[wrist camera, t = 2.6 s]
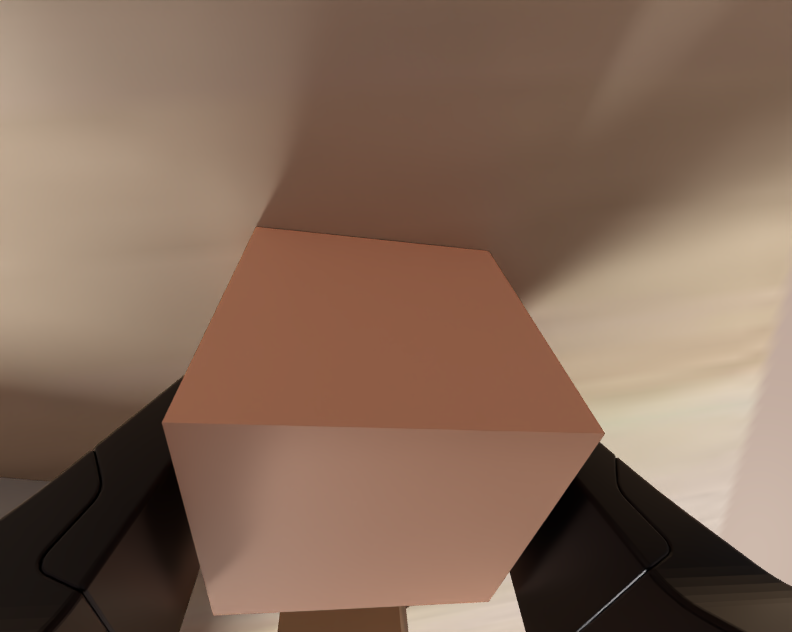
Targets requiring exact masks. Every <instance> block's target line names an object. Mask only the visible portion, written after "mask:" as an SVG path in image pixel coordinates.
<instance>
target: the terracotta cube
mask: <svg viewBox="0 0 792 632" xmlns="http://www.w3.org/2000/svg"><path fill="white" fill-rule="evenodd" d="M162 425H163V429H164V432H165V436H166V440H167V444H168V447H169V451H170V455H171V459H172V462H173V466H174V470H175V474H176V477H177V481H178V485H179V489H180V493H181V496H182V500H183V504H184V508H185V511H186V515H187V519H188V523H189V526H190V530H191V534H192V538H193V541H194V545H195V549H196V553H197V556H198V560H199V564H200V568H201V571H202V575H203V579H204V583H205V587H206V590H207V594H208V598H209V602H210V605H211V609H212V613H213V616H216V615H236V614H256V613H275V612H295V611H315V610H335V609H355V608H375V607H395V606H415V605H435V604H454V603H474V602H489V600H490V599H491V597H492V596H493V595H494V593H495V592H496V590H497V589H498V587H499V586H500V585H501V583H502V582H503V580H504V579H505V577H506V576H507V574H508V573H509V572H510V570H511V569H512V567H513V566H514V564H515V563H516V561H517V560H518V559H519V557H520V556H521V554H522V553H523V551H524V550H525V548H526V547H527V546H528V544H529V543H530V541H531V540H532V538H533V537H534V535H535V534H536V533H537V531H538V530H539V528H540V527H541V525H542V524H543V522H544V521H545V520H546V518H547V517H548V515H549V514H550V512H551V511H552V509H553V508H554V507H555V505H556V504H557V502H558V501H559V499H560V498H561V496H562V495H563V494H564V492H565V491H566V489H567V488H568V486H569V485H570V483H571V482H572V481H573V479H574V478H575V476H576V475H577V473H578V472H579V470H580V469H581V468H582V466H583V465H584V463H585V462H586V460H587V459H588V457H589V456H590V455H591V453H592V452H593V450H594V449H595V447H596V446H597V444H598V443H599V442H600V440H601V439H602V437H603V436H604V434H605V433H604V431H603V430H602V428H601V427H600V425H599V423H598V422H597V420H596V419H595V417H594V416H593V414H592V412H591V411H590V409H589V408H588V406H587V405H586V403H585V401H584V400H583V398H582V397H581V395H580V394H579V392H578V390H577V389H576V387H575V386H574V384H573V383H572V381H571V379H570V378H569V376H568V375H567V373H566V372H565V370H564V368H563V367H562V365H561V364H560V362H559V361H558V359H557V357H556V356H555V354H554V353H553V351H552V350H551V348H550V346H549V345H548V343H547V342H546V340H545V339H544V337H543V335H542V334H541V332H540V331H539V329H538V328H537V326H536V324H535V323H534V321H533V320H532V318H531V317H530V315H529V313H528V312H527V310H526V309H525V307H524V306H523V304H522V302H521V301H520V299H519V298H518V296H517V295H516V293H515V291H514V290H513V288H512V287H511V285H510V284H509V282H508V280H507V279H506V277H505V276H504V274H503V273H502V271H501V269H500V268H499V266H498V265H497V263H496V262H495V260H494V258H493V257H492V255H491V254H490V252H489V251H484V250H474V249H464V248H455V247H445V246H436V245H426V244H416V243H407V242H397V241H388V240H378V239H368V238H359V237H349V236H340V235H330V234H321V233H311V232H301V231H292V230H282V229H273V228H263V227H256V228H255V230H254V232H253V234H252V236H251V238H250V240H249V242H248V244H247V246H246V249H245V251H244V253H243V255H242V257H241V259H240V261H239V263H238V265H237V267H236V269H235V271H234V274H233V276H232V278H231V280H230V282H229V284H228V286H227V288H226V290H225V292H224V294H223V296H222V298H221V301H220V303H219V305H218V307H217V309H216V311H215V313H214V315H213V317H212V319H211V321H210V323H209V326H208V328H207V330H206V332H205V334H204V336H203V338H202V340H201V342H200V344H199V346H198V348H197V350H196V353H195V355H194V357H193V359H192V361H191V363H190V365H189V367H188V369H187V371H186V373H185V375H184V378H183V380H182V382H181V384H180V386H179V388H178V390H177V392H176V394H175V396H174V398H173V400H172V402H171V405H170V407H169V409H168V411H167V413H166V415H165V417H164V419H163V421H162Z"/></svg>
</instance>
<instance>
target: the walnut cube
mask: <svg viewBox="0 0 792 632" xmlns="http://www.w3.org/2000/svg"><path fill="white" fill-rule="evenodd" d="M278 632H408V624H407V614H406V607H405V606H395V607H375V608H355V609H335V610H315V611H295V612H280V616H279V625H278Z"/></svg>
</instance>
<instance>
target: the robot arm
mask: <svg viewBox="0 0 792 632" xmlns="http://www.w3.org/2000/svg"><path fill="white" fill-rule="evenodd" d="M183 378H184V376H182V377H181V378H180V379H179V380H177V381H176V382H175V383H174V384H172V385H171V386H170V387H169V388H167V389H166V390H165V391H164V392H163V393H161V394H160V395H159V396H158V397H156V398H155V399H154V400H153V401H151V402H150V403H149V404H148V405H146V406H145V407H144V408H143V409H141V410H140V411H139V412H138V413H136V414H135V415H134V416H133V417H131V418H130V419H129V420H128V421H127V422H125V423H124V424H123V425H122V426H120V427H119V428H118V429H117V430H115V431H114V432H113V433H112V434H110V435H109V436H108V437H107V438H105V439H104V440H103V441H102V442H100V443H99V444H98V445H97V446H96V447H95V448H94V450H95V451H93V450H91V451H89V452H88V453H87V454H85V455H84V456H83V457H82V458H80V459H79V460H78V461H77V462H75V463H74V464H73V465H72V466H70V467H69V468H68V469H67V470H65V471H64V472H63V473H61V474H60V475H59V476H57V477H56V478H55V479H54V480H52V481H51V482H50V483H48V484H47V485H46V486H45V487H43V488H42V489H41V490H39V491H38V492H37V493H35V494H34V495H33V496H31V497H30V498H28V499H27V500H26V501H24V502H23V503H21V504H20V505H19V506H17V507H16V508H14V509H13V510H12V511H10V512H9V513H7V514H6V515H5V516H3V517H2V518H0V632H179V631H180V628H181V625H182V622H183V619H184V615H185V612H186V609H187V606H188V603H189V600H190V597H191V594H192V591H193V588H194V584H195V581H196V578H197V575H198V572H199V569H200V564H199V560H198V556H197V553H196V549H195V545H194V541H193V538H192V534H191V530H190V526H189V523H188V519H187V515H186V511H185V508H184V504H183V500H182V496H181V493H180V489H179V485H178V481H177V477H176V474H175V470H174V466H173V462H172V459H171V455H170V451H169V447H168V444H167V440H166V436H165V432H164V429H163V425H162V421H163V419H164V417H165V415H166V413H167V411H168V409H169V407H170V405H171V402H172V400H173V398H174V396H175V394H176V392H177V390H178V388H179V386H180V384H181V382H182V380H183ZM510 575H511V579H512V583H513V586H514V590H515V594H516V597H517V601H518V605H519V608H520V612H521V616H522V620H523V623H524V627H525V631H526V632H792V586H790V585H788V584H786V583H784V582H782V581H781V580H779V579H777V578H776V577H774V576H773V575H771V574H769V573H768V572H766V571H765V570H763V569H762V568H761V567H759V566H758V565H756V564H755V563H754V562H752V561H751V560H750V559H748V558H747V557H746V556H744V555H743V554H742V553H740V552H739V551H738V550H736V549H735V548H734V547H732V546H731V545H730V544H728V543H727V542H726V541H724V540H723V539H722V538H720V537H719V536H718V535H716V534H715V533H713V532H712V531H711V530H709V529H708V528H707V527H705V526H704V525H703V524H701V523H700V522H699V521H697V520H696V519H695V518H693V517H692V516H691V515H689V514H688V513H687V512H685V511H684V510H683V509H681V508H680V507H679V506H677V505H676V504H675V503H674V502H672V501H671V500H670V499H668V498H667V497H666V496H664V495H663V494H662V493H660V492H659V491H658V490H657V489H655V488H654V487H653V486H652V485H651V484H649V483H648V482H647V481H646V480H644V479H643V478H642V477H641V476H640V475H638V474H637V473H636V472H635V471H633V470H632V469H631V468H630V467H629V466H627V465H626V464H625V463H624V462H623V461H622V460H620V459H619V458H615V455H614V454H613V453H612V452H611V451H610V450H608V449H607V448H606V447H605V446H604V445H602V444H601V443H600V442H599V443H598V444H597V446H596V447H595V449H594V450H593V452H592V453H591V455H590V456H589V457H588V459H587V460H586V462H585V463H584V465H583V466H582V468H581V469H580V470H579V472H578V473H577V475H576V476H575V478H574V479H573V481H572V482H571V483H570V485H569V486H568V488H567V489H566V491H565V492H564V494H563V495H562V496H561V498H560V499H559V501H558V502H557V504H556V505H555V507H554V508H553V509H552V511H551V512H550V514H549V515H548V517H547V518H546V520H545V521H544V522H543V524H542V525H541V527H540V528H539V530H538V531H537V533H536V534H535V535H534V537H533V538H532V540H531V541H530V543H529V544H528V546H527V547H526V548H525V550H524V551H523V553H522V554H521V556H520V557H519V559H518V560H517V561H516V563H515V564H514V566H513V567H512V569H511V570H510Z"/></svg>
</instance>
